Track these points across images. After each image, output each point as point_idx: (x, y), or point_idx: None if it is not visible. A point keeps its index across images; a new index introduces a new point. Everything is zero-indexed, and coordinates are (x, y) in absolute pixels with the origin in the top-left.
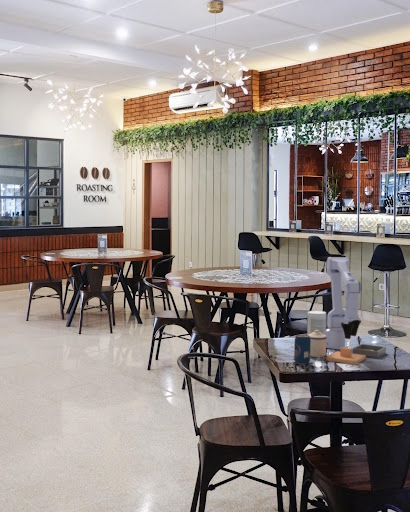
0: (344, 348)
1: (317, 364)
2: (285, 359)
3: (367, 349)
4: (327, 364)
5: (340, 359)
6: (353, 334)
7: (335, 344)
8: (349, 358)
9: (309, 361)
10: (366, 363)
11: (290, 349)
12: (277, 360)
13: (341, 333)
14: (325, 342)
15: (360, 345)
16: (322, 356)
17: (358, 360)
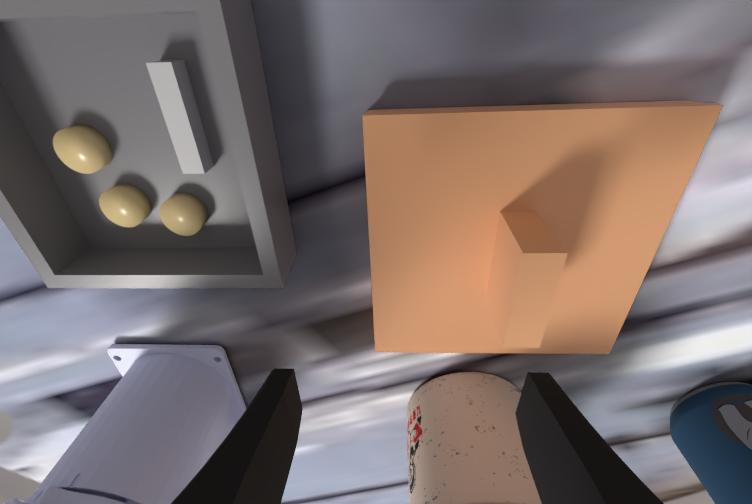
0: (547, 315)
1: (747, 339)
2: (647, 468)
3: (62, 206)
4: (733, 293)
5: (650, 256)
6: (292, 407)
7: (218, 407)
8: (606, 202)
9: (743, 388)
10: (586, 13)
11: (408, 497)
12: (683, 482)
13: (139, 474)
14: (489, 466)
15: (104, 273)
16: (497, 376)
17: (622, 105)
